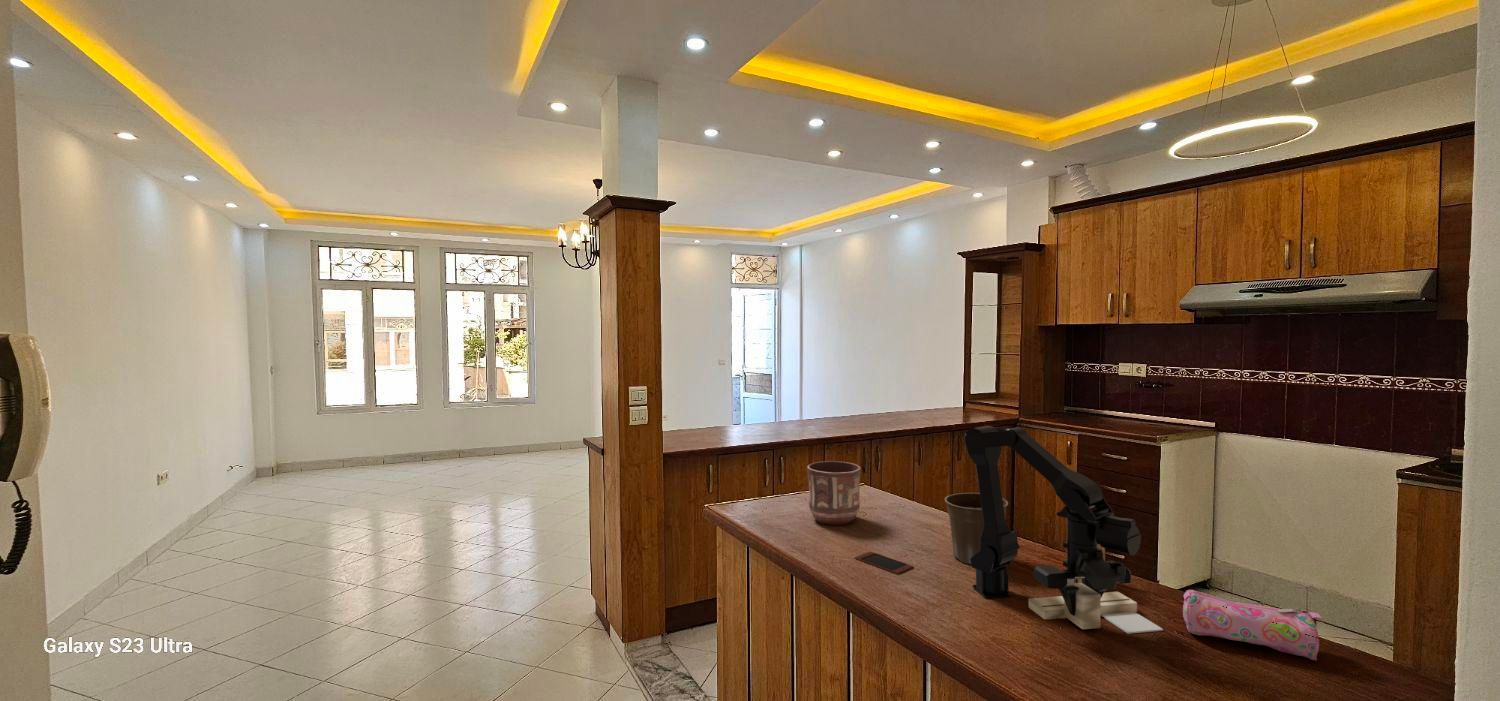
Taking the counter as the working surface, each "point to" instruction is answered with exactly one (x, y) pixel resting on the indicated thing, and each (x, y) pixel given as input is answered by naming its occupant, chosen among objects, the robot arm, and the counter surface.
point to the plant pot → (966, 524)
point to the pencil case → (1252, 623)
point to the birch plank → (1055, 605)
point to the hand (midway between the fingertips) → (1082, 614)
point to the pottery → (834, 491)
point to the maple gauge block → (1085, 608)
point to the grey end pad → (1131, 622)
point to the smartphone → (884, 563)
